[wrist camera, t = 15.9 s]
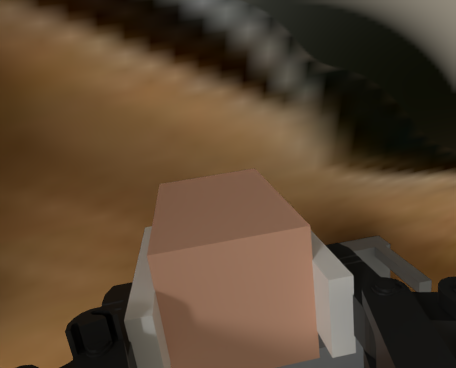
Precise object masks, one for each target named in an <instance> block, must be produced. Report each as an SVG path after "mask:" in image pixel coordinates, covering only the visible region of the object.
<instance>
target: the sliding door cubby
mask: <svg viewBox="0 0 456 368" xmlns="http://www.w3.org/2000/svg"><path fill="white" fill-rule="evenodd" d="M340 244H342V245H344V246H347V247H349V248H350V249H351V250H352V251H353V252H354V253H356V254H357V256H359V257H360V258H361V259H362V261H364V262H365V263H366V264H367V265H368V266H370V267H371V268H372V269H373V270H374V271H375V272H376V273H377V274H378V275H379V276H380V277H388V278H390V270H392V271H393V272H394V273H395V274H396V275H397V276H399V277H400V278H401V279H402V280H403V281H404V282H406V283H407V284H408V285H409V286H410V287H411V288H413V289H414V290H415V291H416V292H431V283H432V280H431V279H429V278H428V277H427V276H425V275H424V274H423V273H421V272H420V271H419V270H417V269H416V268H415V267H413V266H412V265H411V264H409V263H408V262H407V261H406V260H404V259H403V258H402V257H400V256H399V255H398V254H396V253H395V252H394V251H392V250H391V249H390V244H389V243H388V242H387V241H385V240H384V239H382V238H381V237H380V236H374V237H368V238H363V239H358V240H353V241H347V242H342V243H340ZM318 340H319V354H320V358H317V359H312V360H308V361H303V362H299V363H294V364H290V365H285V366H281V367H277V368H364V361H363V347H362V346H361V344H360V343H359V341H358V340H357V339H356V337H355V341H356V353H353V354H349V355H344V356H339V357H335V358H332V356H331V354H330V353H329V351H328V349H327V347H326V346H325V344H324V342H323V341H322V339H321V337H320V335H319V334H318Z"/></svg>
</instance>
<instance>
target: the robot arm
mask: <svg viewBox="0 0 456 368" xmlns="http://www.w3.org/2000/svg"><path fill="white" fill-rule="evenodd" d="M151 229H152V226H151V227H146V228H145V230H144V235H143V239H142V244H141V248H140V252H139V257H138V261H137V266H136V270H135V274H134V279H133V282H132V283H127V284H121V285H116V286H113V287H112V288H111V289H110V290H109V291H108V292H107V293H106V294H105V296H104V299H103V302H102V306H101V307H98V308H94V309H90V310H88V311H86V312H83V313H81V314H80V315H78V316H77V317H75V318H74V319H73V320H72V321H71V322H70V323H69V324H68V325H67V328H66V330H65V333H66V336H67V339H68V343H69V346H70V349H71V352H72V355H73V360H72V361H71V362H69V363H68V364H66V365H64V366H62V367H60V368H170V365H171V362H170V357H169V353H168V348H167V343H166V339H165V334H164V329H163V325H162V320H161V316H160V311H159V306H158V302H157V297H156V292H155V290H154V286H153V282H152V277H151V273H150V268H149V264H148V259H147V252H148V246H149V241H150V235H151ZM311 242H312V256H313V260H312V266H313V280H314V295H315V309H316V324H317V332H318V334H319V335H320V337H321V339H322V341H323V342H324V344H325V346H326V347H327V349H328V351H329V353H330V354H331V356H332V358H335V357H339V356H344V355H349V354H353V353H356V341H355V337H356V339H357V340H358V341H359V343H360V344H361V346H362V347H363V361H364V368H456V277H447V278H445V279H442V280H441V281H440V282H439V283H438V292H411V291H410V289H409V288H408V287H407V286H406V285H405V284H404V283H402V282H400V281H398V280H396V279H392V278H388V277H380V276H379V275H378V274H377V273H376V272H375V271H374V270H373V269H372V268H371V267H370V266H368V265H367V264H366V263H365V262H364V261H362V259H361V258H360V257H359V256H357V254H356V253H354V252H353V251H352V250H351V249H350V248H349V247H347V246H344V245H342V244H340V243H335V244H329V245H324V244H323V242H322V241H321V240H320V239H319V238H318V237H317V236H316V235H315V234H314V233H313V232H312V231H311ZM16 368H38V367H36V366H34V365H22V366H19V367H16Z"/></svg>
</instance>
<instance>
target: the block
mask: <svg viewBox="0 0 456 368" xmlns="http://www.w3.org/2000/svg"><path fill="white" fill-rule="evenodd" d="M147 259H148V264H149V268H150V273H151V277H152V282H153V286H154V290H155V292H156V297H157V302H158V306H159V311H160V316H161V320H162V325H163V329H164V334H165V339H166V343H167V348H168V353H169V357H170V362H171V368H277V367H281V366H285V365H290V364H294V363H299V362H303V361H308V360H312V359H317V358H320V354H319V340H318V332H317V324H316V309H315V295H314V280H313V266H312V260H313V256H312V242H311V228H310V225H309V224H308V223H307V222H306V221H305V220H304V219H303V218H302V217H301V216H300V214H299V213H298V212H297V211H296V210H295V209H294V208H293V207H292V206H291V205H290V204H289V203H288V202H287V201H286V200H285V199H284V198H283V197H282V196H281V195H280V194H279V193H278V192H277V191H276V190H275V189H274V188H273V187H272V186H271V185H270V184H269V182H268V181H267V180H266V179H265V178H264V177H263V176H262V175H261V174H260V173H259V172H258V171H257V170H256V169H255V168H254V169H248V170H242V171H236V172H230V173H224V174H218V175H212V176H206V177H199V178H193V179H187V180H181V181H175V182H169V183H163V184H160V185H159V190H158V196H157V201H156V207H155V213H154V218H153V224H152V229H151V235H150V241H149V246H148V252H147Z"/></svg>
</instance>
